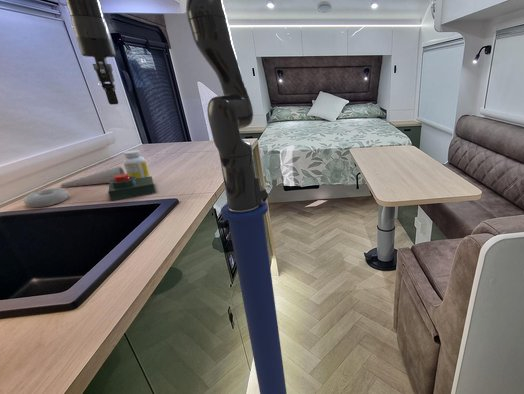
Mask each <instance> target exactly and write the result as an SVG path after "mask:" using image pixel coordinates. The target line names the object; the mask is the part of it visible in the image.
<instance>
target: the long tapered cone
mask: <svg viewBox="0 0 524 394" xmlns="http://www.w3.org/2000/svg"><path fill="white" fill-rule="evenodd" d="M125 172H126V171H125V170H124V168H122V167H121V166H120V165H119V166H115V167H113V168H110V169H107V170H103V171H100V172H95V173H93V174H89V175H86V176H83V177H80V178H76V179H72V180H71V181H70V180H69V181H65V182H63V183H61V184H60V188H68V187H80V186H91V185H100V184H110V183H109V182H110V180H112V179H114V176H116V175H119V174H126V173H125Z"/></svg>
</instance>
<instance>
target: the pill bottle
mask: <svg viewBox="0 0 524 394" xmlns="http://www.w3.org/2000/svg"><path fill="white" fill-rule="evenodd" d="M123 156H124V157H125V158H124V160H123V162H122V163H123V166H124V169H125V172H126V174H129V176H133V177H135V178H136V179H137V178H144V177H150V172H149V169H148V165H147V162H146V159H145V158H144V156H141V152H140V150H137V149H133V150H132V149H131V150H125V151H124V152H123Z"/></svg>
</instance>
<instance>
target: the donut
mask: <svg viewBox="0 0 524 394" xmlns="http://www.w3.org/2000/svg"><path fill="white" fill-rule="evenodd" d="M68 197H69V192H68V190H67V189H64V188H62V187H51V188H45V189H41V190H35V191H33V192H30V193H29V194H26V196H24V198H23V203H24V204H25V205H26V206H27V207H31V208H43V207H49V206H55V205H56V204H60V203H62V202H64V201H65V200H67V199H68Z"/></svg>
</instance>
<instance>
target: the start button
mask: <svg viewBox="0 0 524 394" xmlns="http://www.w3.org/2000/svg"><path fill="white" fill-rule="evenodd" d="M114 179H115V182H121V181H126V180H129V179H130V177H129V174H127V173H125V174H119V175H116V176H114Z"/></svg>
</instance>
